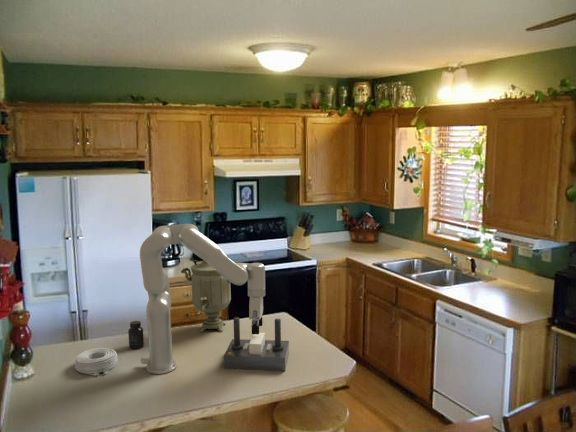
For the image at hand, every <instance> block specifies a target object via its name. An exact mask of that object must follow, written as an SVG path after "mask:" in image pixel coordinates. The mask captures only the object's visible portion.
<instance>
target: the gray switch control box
mask: <svg viewBox="0 0 576 432" xmlns="http://www.w3.org/2000/svg"><path fill="white" fill-rule="evenodd" d="M250 341H251V339H241V338H240V343H242V344H243V348H242V349H238V350H235V349H232V344H233V343H234V338H232V339H231V341H230V342H229V345H228V347H227V349H226V351H225V353H224V354H223V367H224V368H223V370H243V371H245V370H247V371H271V372H272V371H273V372H276V371H277V372H285V371H286V369H287V364H288V361H289V355H290V341H289V340H281V344H282V345H283V350H281V351H275V350H273V349H272V346H273V345H274V344H275V339H274V340H270V339H268V340H267V339H265V348H264V351H263V354H262V355H252V354H249V343H250Z"/></svg>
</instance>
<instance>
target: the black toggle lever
mask: <svg viewBox="0 0 576 432" xmlns="http://www.w3.org/2000/svg"><path fill="white" fill-rule="evenodd" d="M281 321H282V320H281V318H274V340H275V344H274V345H273V346H272V349H273V350H275V351H281V350H283V345H282V344H281V341H282V337H281V336H282V331H281V330H282V326H281V325H282V322H281Z"/></svg>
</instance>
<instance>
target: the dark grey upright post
mask: <svg viewBox="0 0 576 432" xmlns="http://www.w3.org/2000/svg"><path fill="white" fill-rule="evenodd" d="M240 320H241V319H240V317H233V339H234V343H233V344H232V349H235V350H238V349H242V348H243V344H242V343H240V339H241V331H240V330H241V327H240V325H241V323H240Z"/></svg>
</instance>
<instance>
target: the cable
mask: <svg viewBox="0 0 576 432" xmlns="http://www.w3.org/2000/svg"><path fill="white" fill-rule="evenodd" d="M117 363H118V354H117V352H116V350H114V349H112V348H109V347H95V348H90V349H87V350H84V351H82V352H80V353H79V354H78V355H76V357H75V362H74V369H75V371H78V372H79V373H80V374H84V375H88V374H91V375H90V376H92V375H94V376H93V377H98V376H100V373H103V374H102V376H105V375H106V374H108V373H109V372H110V371H111V370H112V369H113V368H114V367H115V366H116V365H117Z"/></svg>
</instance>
